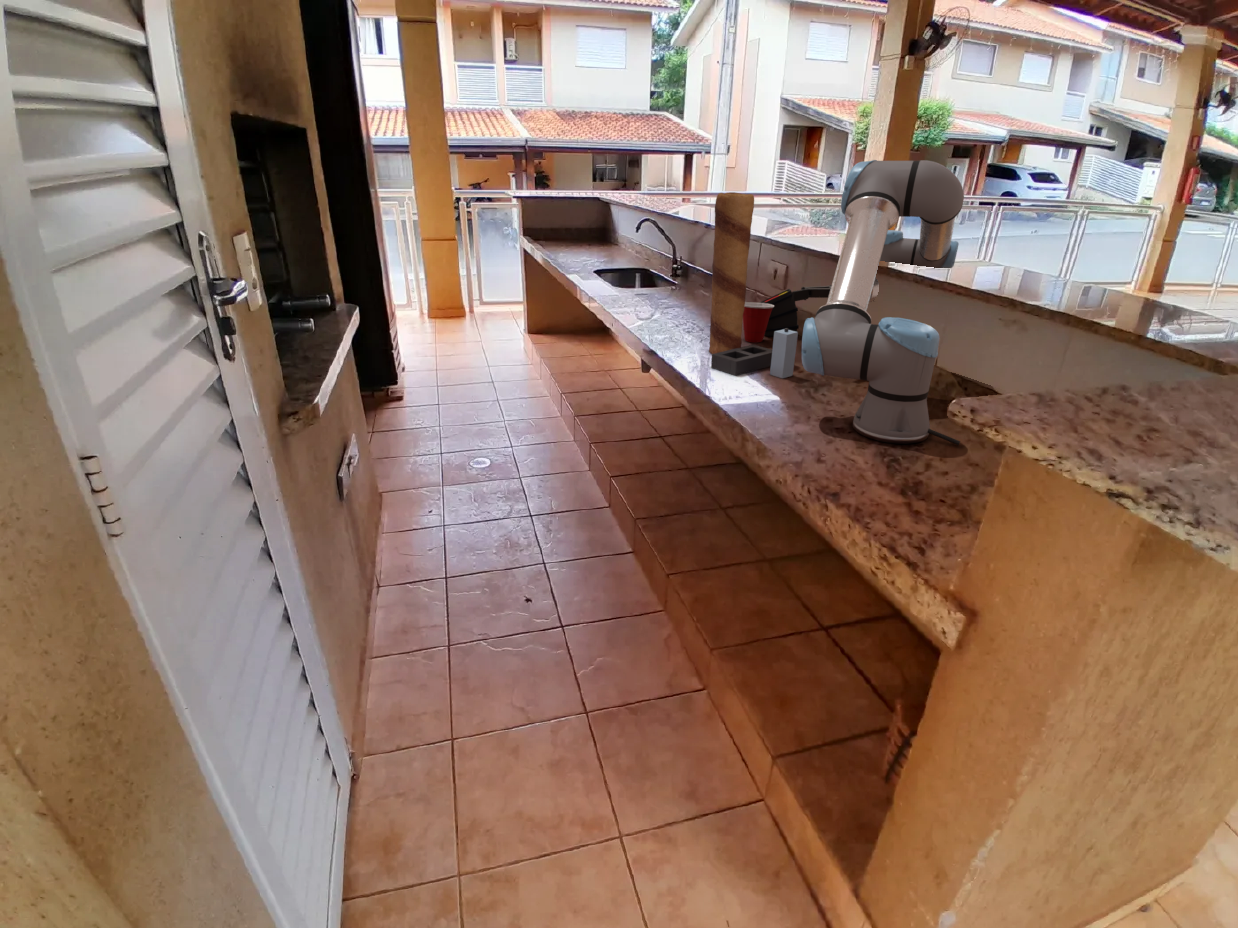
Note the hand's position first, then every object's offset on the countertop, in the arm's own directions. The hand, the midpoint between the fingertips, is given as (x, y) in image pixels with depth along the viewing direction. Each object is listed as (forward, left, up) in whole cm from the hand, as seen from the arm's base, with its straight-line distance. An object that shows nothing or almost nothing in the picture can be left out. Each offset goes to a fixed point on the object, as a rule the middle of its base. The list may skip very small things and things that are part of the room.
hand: (812, 300), depth 165 cm
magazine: (+30, -23, -19) cm, 42 cm away
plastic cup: (+30, -12, -19) cm, 38 cm away
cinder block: (+12, +12, -19) cm, 25 cm away
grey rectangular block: (0, +10, -19) cm, 21 cm away
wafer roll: (+26, +6, -19) cm, 33 cm away
